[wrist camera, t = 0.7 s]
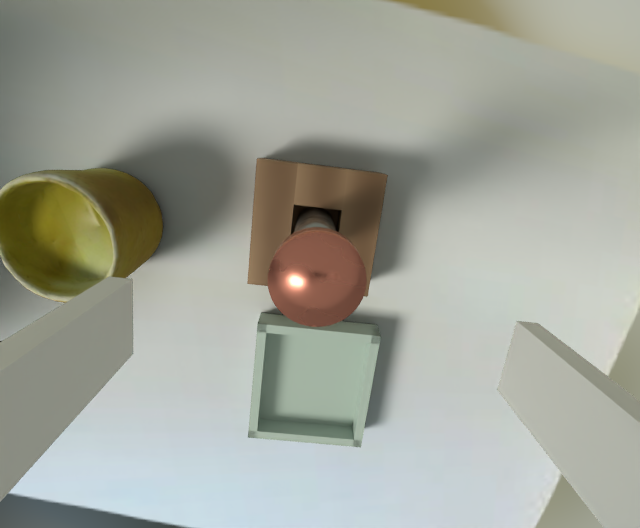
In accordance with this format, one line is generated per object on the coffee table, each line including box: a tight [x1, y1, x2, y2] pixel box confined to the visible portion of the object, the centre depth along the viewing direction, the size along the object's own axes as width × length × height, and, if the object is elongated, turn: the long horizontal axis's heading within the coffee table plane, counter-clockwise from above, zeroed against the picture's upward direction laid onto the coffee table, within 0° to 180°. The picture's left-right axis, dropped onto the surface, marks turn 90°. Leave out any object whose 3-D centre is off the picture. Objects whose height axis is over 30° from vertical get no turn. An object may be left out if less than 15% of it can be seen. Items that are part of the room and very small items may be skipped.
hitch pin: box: [268, 207, 367, 327], centre depth 26 cm, size 5×5×16 cm
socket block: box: [248, 158, 388, 297], centre depth 33 cm, size 10×10×4 cm
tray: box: [248, 313, 381, 447], centre depth 37 cm, size 11×12×2 cm
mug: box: [0, 168, 163, 303], centre depth 30 cm, size 12×10×10 cm
